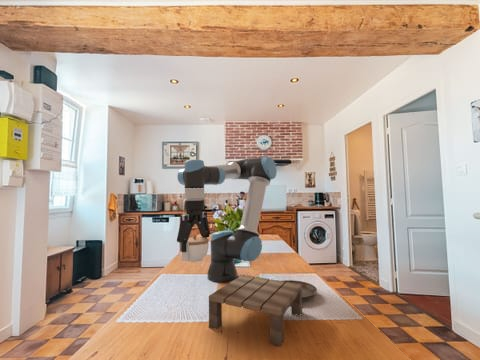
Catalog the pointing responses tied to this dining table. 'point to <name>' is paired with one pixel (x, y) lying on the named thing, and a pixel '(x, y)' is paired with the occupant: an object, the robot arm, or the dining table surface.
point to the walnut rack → (258, 301)
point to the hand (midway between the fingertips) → (194, 257)
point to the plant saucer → (305, 290)
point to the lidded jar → (197, 248)
